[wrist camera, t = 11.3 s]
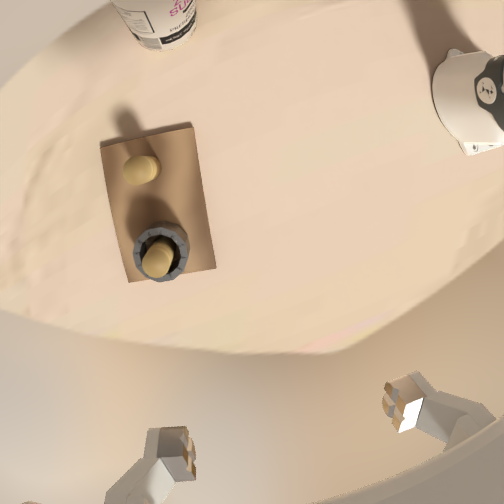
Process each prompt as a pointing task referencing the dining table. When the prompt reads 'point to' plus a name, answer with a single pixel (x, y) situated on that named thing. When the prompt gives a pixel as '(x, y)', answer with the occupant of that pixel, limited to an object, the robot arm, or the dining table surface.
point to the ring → (169, 231)
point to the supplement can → (159, 21)
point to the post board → (158, 200)
